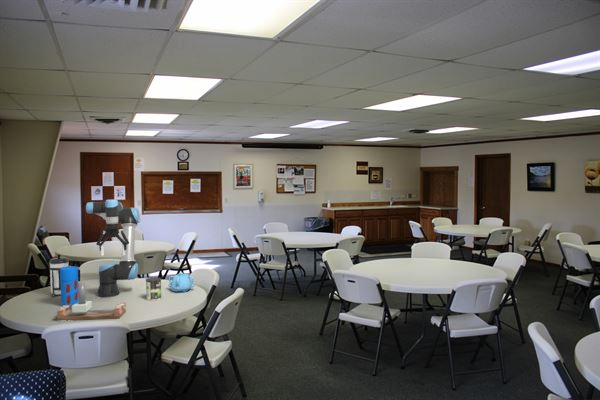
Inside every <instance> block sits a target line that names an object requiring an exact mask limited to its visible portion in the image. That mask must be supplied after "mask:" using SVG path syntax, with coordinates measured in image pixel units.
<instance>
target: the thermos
mask: <svg viewBox="0 0 600 400" xmlns="http://www.w3.org/2000/svg"><path fill="white" fill-rule="evenodd" d="M78 284H79V269H78V266H76V265H75V266H69V267H63V268H60V286H61V294H60V300H61V301H60V303H61V306H62V305H65V306H66V305H74V304H76V303H77V302H78Z"/></svg>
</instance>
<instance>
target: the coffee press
mask: <svg viewBox="0 0 600 400" xmlns="http://www.w3.org/2000/svg"><path fill="white" fill-rule="evenodd" d="M69 261H70V260H69V259H68V258H67V257H65V256H62V257H61V254H59V253H58V254H57V257H54V258H51V259H50V260H49V262H48V264H49V273H50V274H49V277H50V293H51V295H52V296H53V295H55V296H56V295H61V286H60V268H63V267H70V266H69V263H70V262H69Z"/></svg>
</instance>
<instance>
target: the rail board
mask: <svg viewBox="0 0 600 400" xmlns="http://www.w3.org/2000/svg"><path fill="white" fill-rule="evenodd" d="M126 303H127V302H120V303H117V304H115V308H95V309H92V308H91V309H89V310H88V311H87V312H74V313H72V305H66V306H62V305H60V307H59V309H58V310H56V317H57V320H66V321H65V322H67V321H68V320H73V321H92V320H93V321H95V320H117V319H119V320H120V319H121V318H122V316H123V315H125V314H126V313H127V307H126ZM57 320H56V321H57Z"/></svg>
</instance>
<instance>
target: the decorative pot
mask: <svg viewBox="0 0 600 400" xmlns="http://www.w3.org/2000/svg"><path fill="white" fill-rule="evenodd" d="M172 278H173V279H172ZM171 279H172V280H171ZM168 282H169V284H168V286H167V287H168V288H170V289H171V290H172V291H173V293H177V292H183V293H186V292H187V291H190V290H191V289H192V288H194V287H195V284H194V277H193V276H192V275H189V274H187V273H184V272H179V273H177V274H176V275H170V276H169V277H168Z"/></svg>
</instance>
